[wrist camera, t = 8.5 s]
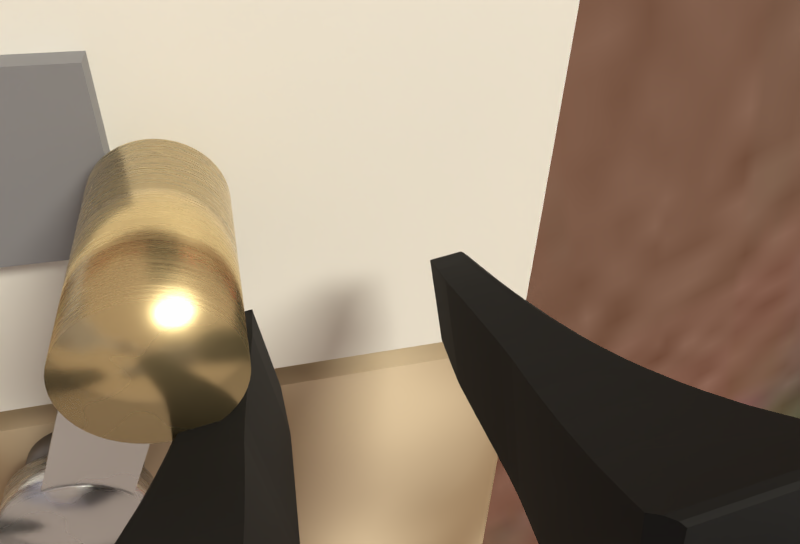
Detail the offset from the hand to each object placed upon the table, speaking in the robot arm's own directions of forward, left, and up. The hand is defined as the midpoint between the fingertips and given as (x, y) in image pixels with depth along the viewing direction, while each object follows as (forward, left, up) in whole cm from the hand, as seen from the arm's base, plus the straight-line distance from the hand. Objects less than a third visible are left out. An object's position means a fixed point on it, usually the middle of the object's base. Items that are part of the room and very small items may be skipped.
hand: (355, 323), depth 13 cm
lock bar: (-5, -2, -2) cm, 5 cm away
